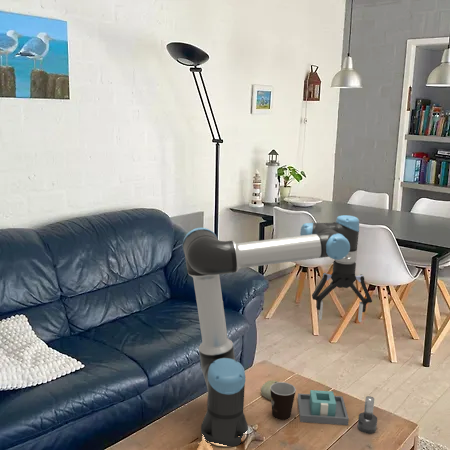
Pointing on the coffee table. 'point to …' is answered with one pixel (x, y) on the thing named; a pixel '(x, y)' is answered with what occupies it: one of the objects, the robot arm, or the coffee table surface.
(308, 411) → the tray
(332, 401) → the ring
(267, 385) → the sea urchin shell
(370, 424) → the cylinder
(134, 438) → the coffee table surface
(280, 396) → the coffee mug
